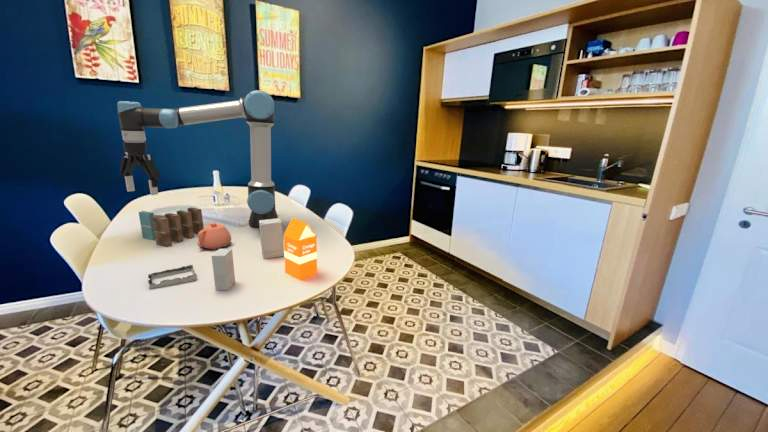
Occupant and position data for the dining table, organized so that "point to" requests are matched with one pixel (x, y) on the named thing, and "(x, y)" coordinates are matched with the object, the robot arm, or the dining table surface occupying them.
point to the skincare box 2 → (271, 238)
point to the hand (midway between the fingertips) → (142, 193)
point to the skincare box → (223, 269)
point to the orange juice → (300, 250)
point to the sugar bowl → (214, 236)
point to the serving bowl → (170, 210)
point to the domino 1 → (147, 225)
